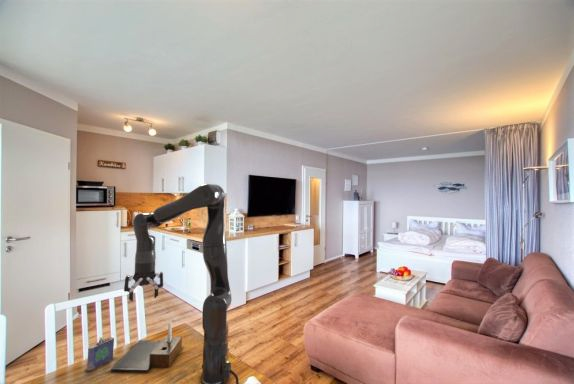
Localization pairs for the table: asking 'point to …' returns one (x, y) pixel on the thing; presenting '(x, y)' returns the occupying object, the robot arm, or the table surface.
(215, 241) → the robot arm
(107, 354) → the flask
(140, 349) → the tablet
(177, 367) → the table surface
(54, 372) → the table surface
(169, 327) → the stylus
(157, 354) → the pen stand
